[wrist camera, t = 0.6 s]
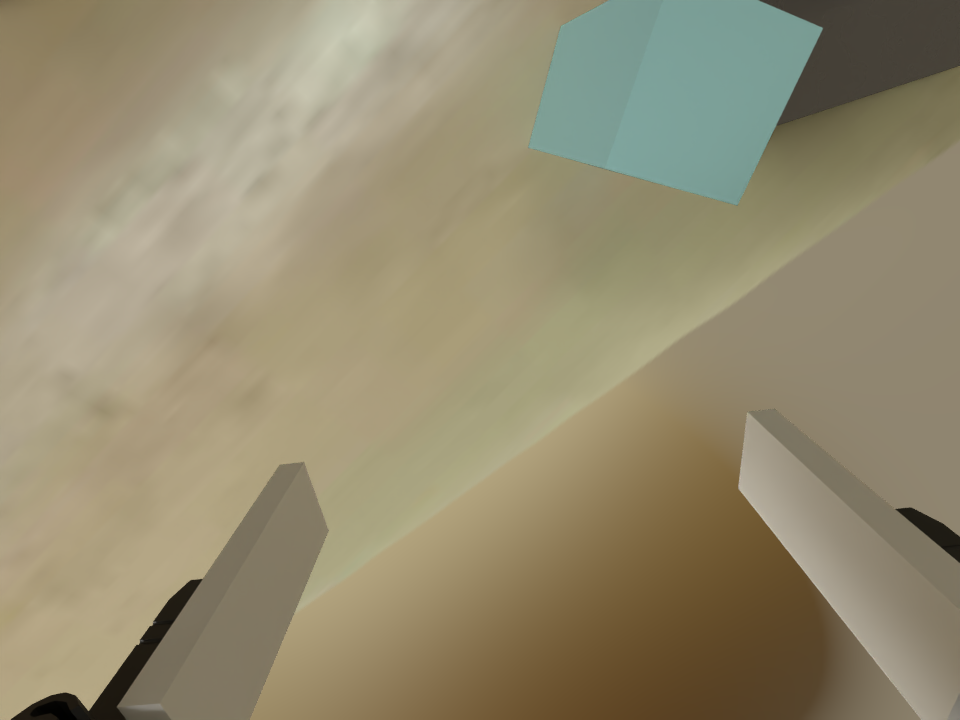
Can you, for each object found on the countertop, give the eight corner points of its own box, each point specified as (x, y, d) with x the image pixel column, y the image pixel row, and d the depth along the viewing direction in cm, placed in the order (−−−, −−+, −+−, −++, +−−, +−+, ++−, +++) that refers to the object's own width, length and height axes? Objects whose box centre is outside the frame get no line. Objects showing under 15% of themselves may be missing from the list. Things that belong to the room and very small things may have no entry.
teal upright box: (528, 147, 25) (604, 168, 16) (560, 26, 23) (674, -35, 13) (617, 172, 27) (737, 205, 17) (658, 60, 24) (823, 27, 15)
